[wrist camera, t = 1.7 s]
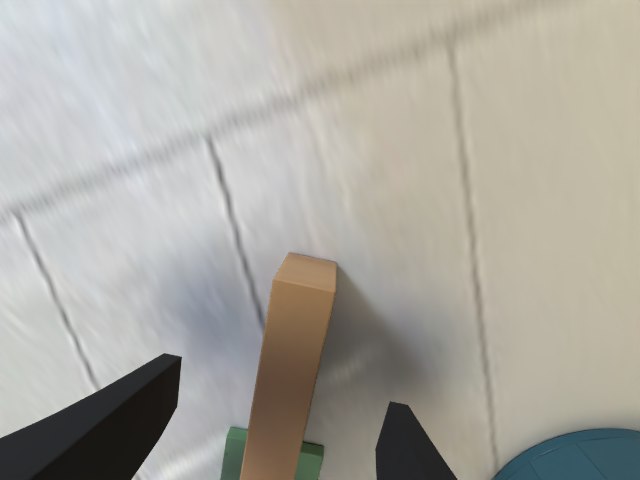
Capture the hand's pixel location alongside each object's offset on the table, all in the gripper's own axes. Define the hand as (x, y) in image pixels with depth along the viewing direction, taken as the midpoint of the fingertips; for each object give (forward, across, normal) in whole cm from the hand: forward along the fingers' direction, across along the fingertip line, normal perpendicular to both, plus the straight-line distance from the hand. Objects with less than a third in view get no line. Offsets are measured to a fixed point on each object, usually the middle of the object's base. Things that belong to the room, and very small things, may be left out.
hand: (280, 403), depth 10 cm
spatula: (+4, 0, +4) cm, 6 cm away
